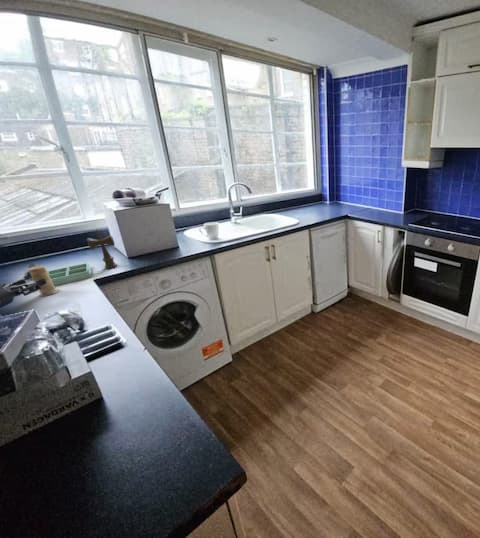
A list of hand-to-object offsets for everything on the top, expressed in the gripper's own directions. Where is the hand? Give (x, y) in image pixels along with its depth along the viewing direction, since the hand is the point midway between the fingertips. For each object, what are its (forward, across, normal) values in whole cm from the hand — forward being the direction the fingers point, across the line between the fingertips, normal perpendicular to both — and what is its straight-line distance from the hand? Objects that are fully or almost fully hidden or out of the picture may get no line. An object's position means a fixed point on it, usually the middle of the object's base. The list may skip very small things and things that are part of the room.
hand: (34, 281), depth 120 cm
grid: (+20, -7, -7) cm, 22 cm away
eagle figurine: (+20, -24, -7) cm, 32 cm away
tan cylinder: (+3, 0, -7) cm, 8 cm away
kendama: (+31, +5, -7) cm, 32 cm away
